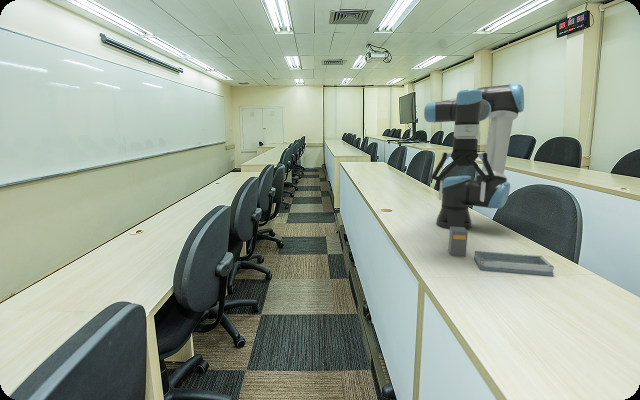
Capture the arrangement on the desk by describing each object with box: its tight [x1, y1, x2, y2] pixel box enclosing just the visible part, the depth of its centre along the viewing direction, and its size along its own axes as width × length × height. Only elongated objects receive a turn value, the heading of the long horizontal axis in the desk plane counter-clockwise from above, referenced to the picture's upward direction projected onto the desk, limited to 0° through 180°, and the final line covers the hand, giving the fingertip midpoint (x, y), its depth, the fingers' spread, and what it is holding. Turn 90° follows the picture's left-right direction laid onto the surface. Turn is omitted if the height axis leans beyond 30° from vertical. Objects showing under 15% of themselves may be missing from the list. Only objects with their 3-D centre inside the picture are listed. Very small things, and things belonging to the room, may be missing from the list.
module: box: [447, 226, 468, 258], centre depth 114 cm, size 6×5×9 cm
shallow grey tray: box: [473, 250, 555, 277], centre depth 103 cm, size 10×20×3 cm, turn 75°
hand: (460, 200), depth 111 cm, fingers open, 13 cm apart
